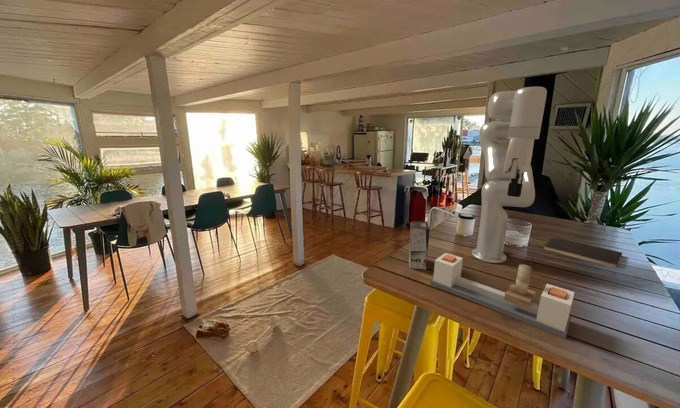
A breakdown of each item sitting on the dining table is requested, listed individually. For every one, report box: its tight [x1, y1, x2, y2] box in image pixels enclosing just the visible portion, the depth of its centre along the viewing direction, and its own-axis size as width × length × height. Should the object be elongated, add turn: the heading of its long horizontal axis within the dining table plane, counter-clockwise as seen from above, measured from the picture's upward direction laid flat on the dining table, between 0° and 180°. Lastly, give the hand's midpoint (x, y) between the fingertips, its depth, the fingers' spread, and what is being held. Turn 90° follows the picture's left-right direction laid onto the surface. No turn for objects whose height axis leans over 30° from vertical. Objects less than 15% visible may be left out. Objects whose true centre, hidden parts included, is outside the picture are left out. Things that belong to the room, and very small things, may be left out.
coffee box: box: [408, 221, 431, 270], centre depth 106 cm, size 9×6×16 cm
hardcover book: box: [543, 236, 623, 268], centre depth 117 cm, size 16×23×2 cm
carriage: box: [504, 264, 537, 309], centre depth 77 cm, size 7×6×10 cm
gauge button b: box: [549, 287, 567, 300], centre depth 72 cm, size 3×3×4 cm
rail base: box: [430, 252, 575, 339], centre depth 83 cm, size 9×36×9 cm, turn 45°
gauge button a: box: [442, 254, 456, 263], centre depth 92 cm, size 3×3×4 cm
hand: (513, 195), depth 83 cm, fingers closed
